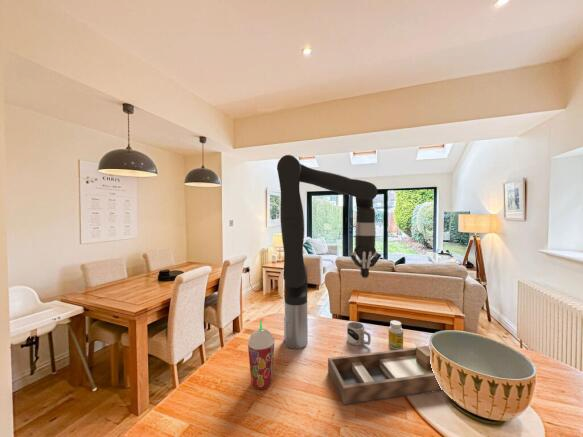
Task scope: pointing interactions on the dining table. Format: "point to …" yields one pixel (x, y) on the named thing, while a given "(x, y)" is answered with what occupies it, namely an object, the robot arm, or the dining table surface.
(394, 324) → the supplement bottle
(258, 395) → the dining table surface
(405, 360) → the wooden compartment tray
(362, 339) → the mug
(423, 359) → the walnut block
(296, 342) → the robot arm
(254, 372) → the smoothie
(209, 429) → the dining table surface
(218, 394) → the dining table surface
